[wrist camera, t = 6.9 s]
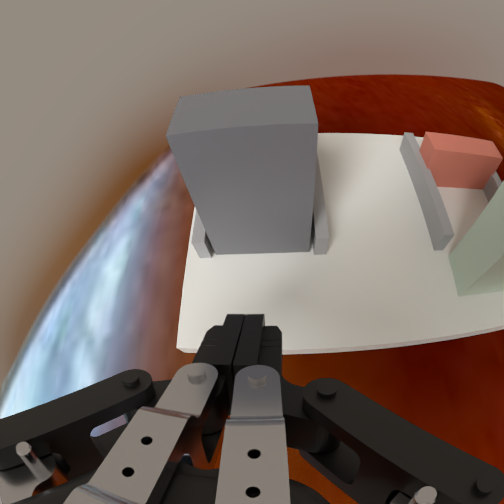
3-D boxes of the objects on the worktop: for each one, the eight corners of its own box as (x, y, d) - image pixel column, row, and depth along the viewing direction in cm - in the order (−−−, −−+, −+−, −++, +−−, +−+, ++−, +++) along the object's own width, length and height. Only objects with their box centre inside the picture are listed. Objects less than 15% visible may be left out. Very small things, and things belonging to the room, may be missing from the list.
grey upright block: (305, 213, 21) (309, 85, 12) (309, 251, 19) (318, 123, 11) (219, 217, 21) (180, 97, 13) (216, 254, 20) (165, 135, 11)
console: (465, 153, 24) (483, 113, 20) (527, 323, 16) (570, 296, 11) (210, 151, 27) (197, 104, 23) (184, 352, 19) (149, 330, 14)
